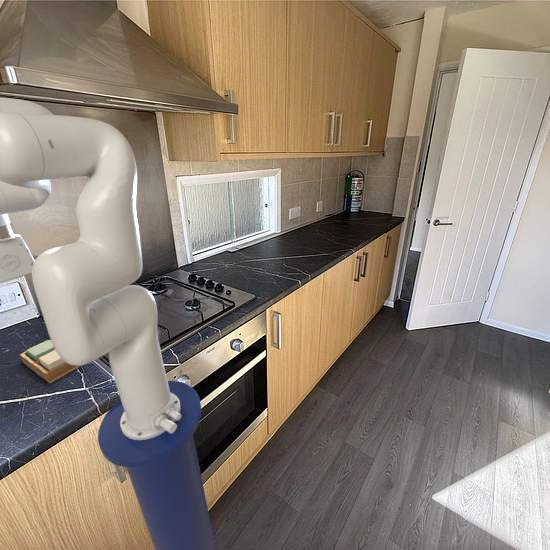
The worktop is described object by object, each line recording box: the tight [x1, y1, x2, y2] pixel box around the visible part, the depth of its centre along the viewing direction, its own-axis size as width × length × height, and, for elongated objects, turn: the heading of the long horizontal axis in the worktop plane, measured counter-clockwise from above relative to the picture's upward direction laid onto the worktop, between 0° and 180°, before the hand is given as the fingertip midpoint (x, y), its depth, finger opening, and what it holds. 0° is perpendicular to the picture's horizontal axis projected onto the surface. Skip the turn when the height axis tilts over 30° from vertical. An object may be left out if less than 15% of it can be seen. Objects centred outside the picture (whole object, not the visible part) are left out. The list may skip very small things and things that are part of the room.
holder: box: [19, 339, 81, 384], centre depth 82 cm, size 16×8×3 cm, turn 59°
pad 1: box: [26, 339, 55, 361], centre depth 84 cm, size 6×6×4 cm
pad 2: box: [39, 350, 65, 371], centre depth 80 cm, size 6×6×4 cm
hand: (20, 297), depth 77 cm, fingers open, 9 cm apart
